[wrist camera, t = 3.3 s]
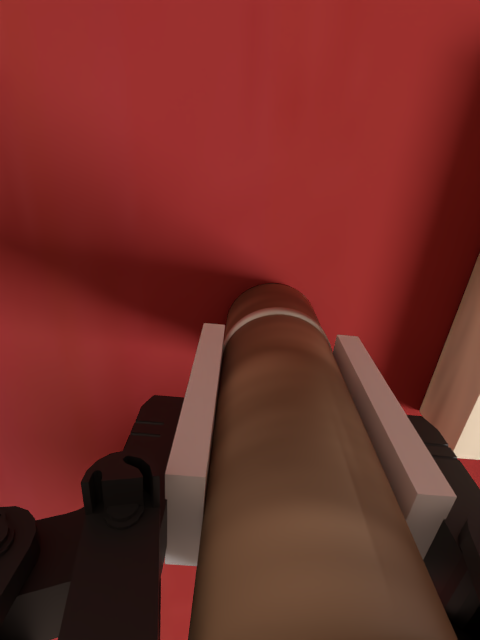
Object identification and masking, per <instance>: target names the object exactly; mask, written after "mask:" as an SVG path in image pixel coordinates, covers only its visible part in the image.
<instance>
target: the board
mask: <svg viewBox="0 0 480 640" xmlns="http://www.w3.org/2000/svg"><path fill="white" fill-rule="evenodd" d="M419 411H420V413H421V414H422V416H423V417H424V418H425V419H426V420H427V421H428V422H429V423H431V424H432V425H433V426H434V427H435V428H437V429H438V430H439V432H440V433H441V435H442V436H443V438H444V439H445V440H446V442H447V443H448V447H450V448H451V449H452V450H453V452H454V453H455V455H456V456H457V458H465V459H477V460H480V253H479V256H478V258H477V261H476V264H475V266H474V269H473V271H472V274H471V277H470V279H469V282H468V285H467V287H466V290H465V292H464V295H463V298H462V300H461V303H460V306H459V308H458V311H457V313H456V316H455V319H454V321H453V324H452V327H451V329H450V332H449V334H448V337H447V340H446V342H445V345H444V348H443V350H442V353H441V355H440V358H439V361H438V363H437V366H436V368H435V371H434V374H433V376H432V379H431V382H430V384H429V387H428V389H427V392H426V395H425V397H424V400H423V403H422V405H421V408H420V410H419Z"/></svg>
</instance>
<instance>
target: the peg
mask: <svg viewBox="0 0 480 640" xmlns="http://www.w3.org/2000/svg"><path fill="white" fill-rule="evenodd" d="M188 640H458V639H457V636H456V634H455V632H454V630H453V627H452V625H451V623H450V620H449V618H448V616H447V614H446V611H445V609H444V607H443V604H442V602H441V600H440V598H439V595H438V593H437V591H436V588H435V586H434V584H433V582H432V579H431V577H430V575H429V573H428V570H427V568H426V566H425V563H424V561H423V559H422V557H421V554H420V552H419V550H418V547H417V545H416V543H415V541H414V538H413V536H412V534H411V531H410V529H409V527H408V525H407V522H406V520H405V518H404V515H403V513H402V511H401V509H400V506H399V504H398V502H397V499H396V497H395V495H394V493H393V490H392V488H391V486H390V483H389V481H388V479H387V477H386V474H385V472H384V470H383V467H382V465H381V463H380V461H379V458H378V456H377V454H376V451H375V449H374V447H373V445H372V442H371V440H370V438H369V435H368V433H367V431H366V429H365V426H364V424H363V422H362V419H361V417H360V415H359V413H358V410H357V408H356V406H355V404H354V401H353V399H352V397H351V394H350V392H349V390H348V388H347V385H346V383H345V381H344V378H343V376H342V374H341V372H340V369H339V367H338V365H337V362H336V360H335V358H334V356H333V353H332V349H331V346H330V343H329V341H328V338H327V336H326V334H325V332H324V331H323V329H322V328H321V326H320V324H319V321H318V319H317V317H316V314H315V312H314V310H313V308H312V306H311V304H310V302H309V301H308V299H307V298H306V297H305V296H304V295H303V294H302V293H300V292H299V291H297V290H296V289H294V288H292V287H290V286H286V285H283V284H276V283H269V284H262V285H258V286H255V287H252V288H250V289H249V290H247V291H245V292H244V293H242V294H241V295H240V296H239V297H238V298H237V299H236V300H235V301H234V303H233V305H232V306H231V308H230V310H229V313H228V316H227V323H226V331H225V339H224V344H223V356H222V365H221V373H220V381H219V390H218V398H217V406H216V414H215V423H214V431H213V439H212V448H211V456H210V464H209V472H208V481H207V489H206V497H205V506H204V514H203V522H202V529H201V537H200V546H199V554H198V562H197V570H196V579H195V587H194V595H193V603H192V612H191V620H190V628H189V636H188Z"/></svg>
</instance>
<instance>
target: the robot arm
mask: <svg viewBox="0 0 480 640" xmlns="http://www.w3.org/2000/svg"><path fill="white" fill-rule="evenodd" d="M224 332H225V325H221V324H209V323H204V324H203V328H202V332H201V336H200V340H199V344H198V347H197V351H196V355H195V359H194V363H193V367H192V371H191V375H190V379H189V382H188V386H187V390H186V394H185V398H182V397H170V396H158V395H154V396H152V397H151V398H150V399H149V400H148V401H147V402H146V403H145V404H144V405H143V406H142V407H141V409H140V411H139V414H138V416H137V419H136V422H135V423H134V426H133V428H132V430H131V434H130V435H129V438H128V440H127V442H126V445H125V447H124V449H123V451H121V452H116V453H112V454H109V455H107V456H105V457H103V458H101V459H99V460H98V461H96V462H95V463H94V464H93V465H92V466H91V467H90V468H89V469H88V470H87V471H86V473H85V475H84V477H83V479H82V481H81V487H82V494H83V501H84V507H83V508H81V509H79V510H77V511H74V512H70V513H67V514H63V515H59V516H54V517H50V518H45V519H40V520H36V521H35V518H34V517H33V516H32V515H31V514H30V512H29V511H28V510H26V509H23V508H20V507H17V506H12V507H0V640H51V639H54V638H57V637H58V640H160V610H161V573H162V568H163V563H164V558H165V564H176V565H190V566H197V562H198V554H199V546H200V537H201V529H202V522H203V514H204V506H205V497H206V489H207V481H208V472H209V464H210V456H211V448H212V439H213V431H214V423H215V414H216V406H217V398H218V390H219V381H220V373H221V365H222V356H223V344H224ZM333 356H334V358H335V360H336V362H337V365H338V367H339V369H340V372H341V374H342V376H343V378H344V381H345V383H346V385H347V388H348V390H349V392H350V394H351V397H352V399H353V401H354V404H355V406H356V408H357V410H358V413H359V415H360V417H361V419H362V422H363V424H364V426H365V429H366V431H367V433H368V435H369V438H370V440H371V442H372V445H373V447H374V449H375V451H376V454H377V456H378V458H379V461H380V463H381V465H382V467H383V470H384V472H385V474H386V477H387V479H388V481H389V483H390V486H391V488H392V490H393V493H394V495H395V497H396V499H397V502H398V504H399V506H400V509H401V511H402V513H403V515H404V518H405V520H406V522H407V525H408V527H409V529H410V531H411V534H412V536H413V538H414V541H415V543H416V545H417V547H418V550H419V552H420V554H421V557H422V559H423V561H424V563H425V566H426V568H427V570H428V573H429V575H430V577H431V579H432V582H433V584H434V586H435V588H436V591H437V593H438V595H439V598H440V600H441V602H442V604H443V607H444V609H445V611H446V614H447V616H448V618H449V620H450V623H451V625H452V627H453V630H454V632H455V634H456V636H457V639H458V640H480V489H479V488H478V486H477V485H476V483H475V482H474V480H473V479H472V478H471V476H470V475H469V473H468V472H467V470H466V469H465V468H464V466H463V465H462V463H461V462H460V460H457V456H456V455H455V453H454V452H453V450H452V449H451V448H450V447H448V443H447V442H446V440H445V439H444V438H443V436H442V435H441V433H440V432H439V430H438V429H437V428H435V427H434V426H433V425H432V424H431V423H429V422H428V421H427V420H426V419H425V418H423V417H422V416H412V415H406V414H405V412H404V410H403V409H402V407H401V405H400V404H399V402H398V401H397V399H396V397H395V396H394V394H393V392H392V391H391V389H390V388H389V386H388V384H387V383H386V381H385V379H384V378H383V376H382V375H381V373H380V371H379V370H378V368H377V367H376V365H375V363H374V362H373V360H372V358H371V357H370V355H369V354H368V352H367V350H366V349H365V347H364V345H363V344H362V342H361V341H360V339H359V337H357V336H346V335H337V337H336V342H335V346H334V350H333Z"/></svg>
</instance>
